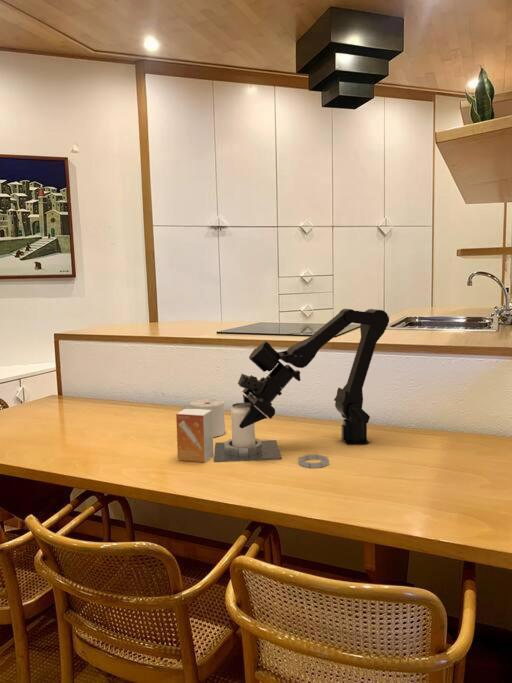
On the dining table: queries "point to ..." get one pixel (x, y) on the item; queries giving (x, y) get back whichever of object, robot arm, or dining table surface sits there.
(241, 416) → the can
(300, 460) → the ring
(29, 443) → the dining table surface
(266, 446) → the ring seat
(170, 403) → the dining table surface
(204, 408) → the toilet tissue
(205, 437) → the small box
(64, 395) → the dining table surface
